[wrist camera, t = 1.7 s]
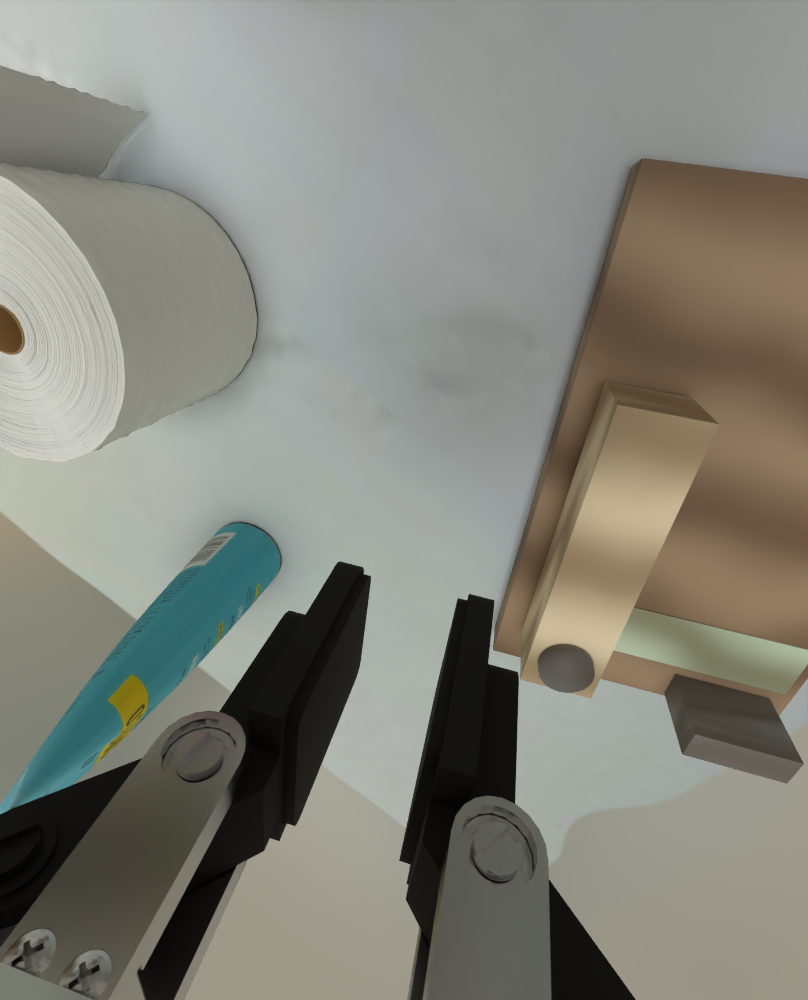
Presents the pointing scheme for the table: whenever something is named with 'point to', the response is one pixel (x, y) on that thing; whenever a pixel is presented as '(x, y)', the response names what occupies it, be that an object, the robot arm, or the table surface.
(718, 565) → the wooden board
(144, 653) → the tube
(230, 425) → the table surface
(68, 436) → the toilet tissue
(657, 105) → the table surface
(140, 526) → the table surface
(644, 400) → the folding leg
